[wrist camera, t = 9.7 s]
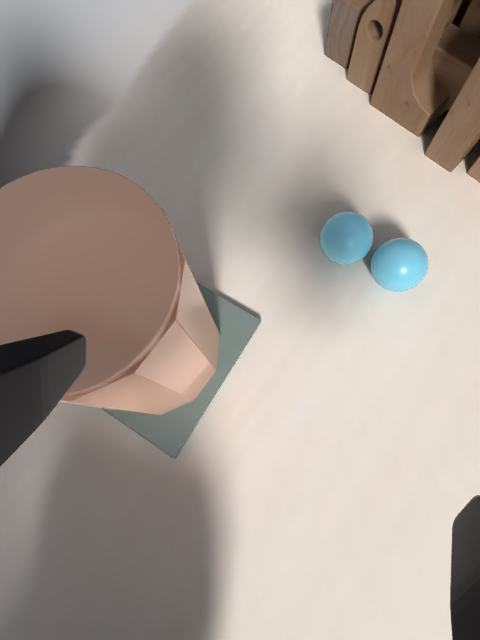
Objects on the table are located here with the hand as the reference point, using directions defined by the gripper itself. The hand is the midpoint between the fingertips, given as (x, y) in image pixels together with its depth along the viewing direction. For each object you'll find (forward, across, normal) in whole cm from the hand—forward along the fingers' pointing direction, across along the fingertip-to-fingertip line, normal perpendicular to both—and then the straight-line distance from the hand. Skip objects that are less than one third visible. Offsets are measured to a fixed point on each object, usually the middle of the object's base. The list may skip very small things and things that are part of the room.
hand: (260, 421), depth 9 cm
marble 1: (+18, -1, +1) cm, 18 cm away
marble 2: (+18, -4, +2) cm, 18 cm away
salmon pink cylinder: (+11, +8, +8) cm, 15 cm away
